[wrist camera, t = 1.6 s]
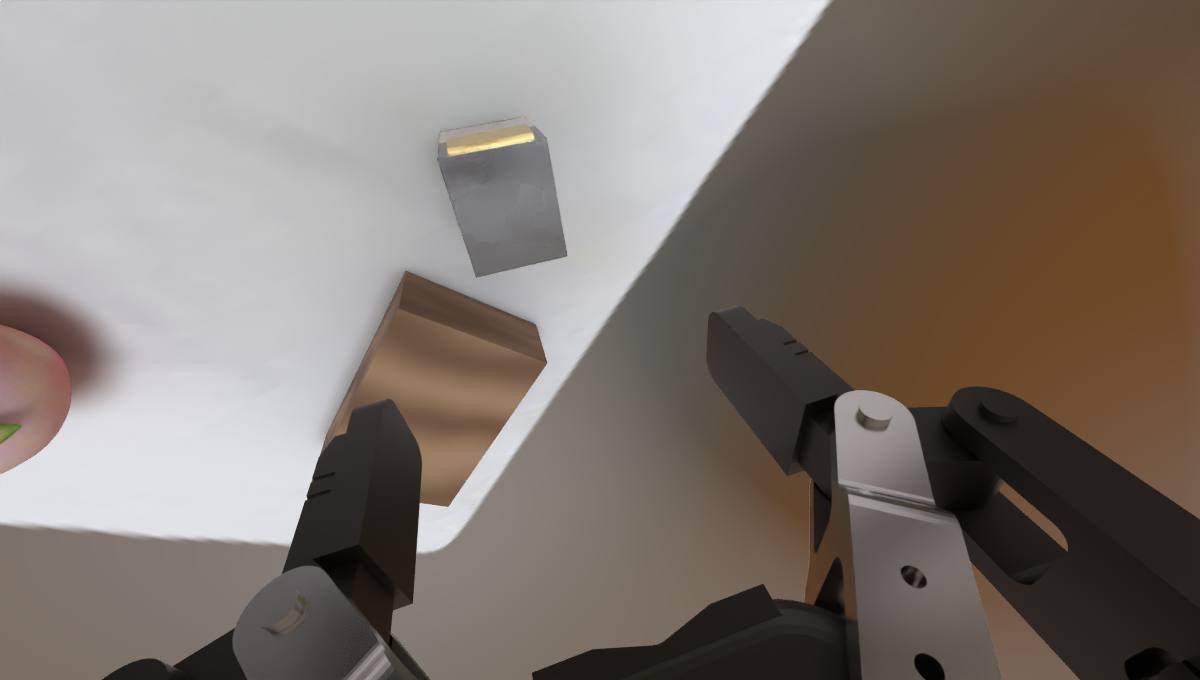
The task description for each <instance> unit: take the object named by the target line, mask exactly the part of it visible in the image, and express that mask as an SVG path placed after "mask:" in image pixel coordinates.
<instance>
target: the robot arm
mask: <svg viewBox="0 0 1200 680" xmlns="http://www.w3.org/2000/svg"><path fill="white" fill-rule="evenodd" d="M707 365H708V369H709V372H710V374H711V376H712V378H713V380H714V381H715V383H716V384H717V385H718V386H719V388H720V389H721V390H722V392H723V393H724V394H725V396H726V397H727V398H728V399H729V401H730V402H731V403H732V405H733V406H734V407H735V409H736V410H737V411H738V412H739V414H740V415H741V416H742V418H743V419H744V420H745V422H746V423H747V424H748V425H749V427H750V428H751V429H752V431H753V432H754V433H755V435H756V436H757V437H758V438H759V440H760V441H761V442H762V444H763V445H764V446H765V447H766V449H767V450H768V451H769V453H770V454H771V455H772V457H773V458H774V459H775V460H776V462H777V463H778V464H779V466H780V467H781V468H782V470H783V471H784V472H785V473H786V475H787V476H789V475H792V474H795V473H798V472H801V471H804V470H805V471H806V472H807V474H808V475H809V476H810V477H811V478H812V479H811V482H810V506H809V508H810V509H809V510H810V512H809V515H810V516H809V522H810V523H809V526H810V527H809V568H808V575H807V580H806V588H805V599H804V603H803V602H799V601H794V600H783V599H772V598H771V597H770V595H769V593H768V591H767V590H766V588H765V586H764V584H761V585H759V586H756V587H753V588H751V589H748V590H746V591H743V592H740V593H738V594H735V595H733V596H730V597H728V598H725V599H723V600H720V601H717V602H715V603H712V604H710V605H709V606H707V607H706V608H705V609H704V610H702V611H701V612H700V613H699V614H697V615H696V616H695V617H694V618H692V619H691V620H690V621H689V622H687V623H686V624H685V625H684V626H682V627H681V628H680V629H679V630H678V631H676V632H675V633H674V634H673V635H671V636H670V637H669V638H668V639H666V640H665V641H664V642H662V643H660V644H658V645H653V646H640V647H639V646H638V647H622V648H607V649H592V650H590V651H587V652H585V653H582V654H580V655H577V656H575V657H572V658H569V659H566V660H564V661H562V662H559V663H556V664H554V665H551V666H548V667H546V668H543V669H541V670H538V671H535V672H533V673H532V677H533V680H1003V679H1002V675H1001V672H1000V668H999V665H998V661H997V658H996V654H995V651H994V646H993V643H992V640H991V636H990V632H989V628H988V625H987V621H986V617H985V614H984V610H983V607H982V603H981V600H980V596H979V592H978V588H977V585H976V581H975V578H974V574H973V570H972V567H971V563H970V561H971V562H972V563H973V564H974V565H975V566H976V568H977V569H978V570H979V571H980V572H981V573H982V574H983V575H984V576H985V577H986V578H987V579H988V580H989V582H990V583H991V584H992V585H993V586H994V587H995V588H996V589H997V590H998V591H999V592H1000V593H1001V595H1002V596H1003V597H1004V598H1005V599H1006V600H1007V601H1008V602H1009V603H1010V604H1011V605H1012V606H1013V608H1014V609H1015V610H1016V611H1017V612H1018V613H1019V614H1020V615H1021V616H1022V617H1023V618H1024V619H1025V621H1026V622H1027V623H1028V624H1029V625H1030V626H1031V627H1032V628H1033V629H1034V630H1035V631H1036V632H1037V634H1038V635H1039V636H1040V637H1041V638H1042V639H1043V640H1044V641H1045V642H1046V643H1047V644H1048V645H1049V647H1050V648H1051V649H1052V650H1053V651H1054V652H1055V653H1056V654H1057V655H1058V656H1059V657H1060V658H1061V660H1062V661H1063V662H1064V663H1065V664H1066V665H1067V666H1068V667H1069V668H1070V669H1071V670H1072V671H1073V673H1074V674H1075V675H1076V676H1077V677H1078V678H1079V679H1080V680H1200V519H1198V518H1197V517H1195V516H1194V515H1192V514H1191V513H1189V512H1188V511H1186V510H1185V509H1183V508H1182V507H1181V506H1179V505H1178V504H1176V503H1175V502H1173V501H1172V500H1170V499H1169V498H1167V497H1166V496H1164V495H1163V494H1161V493H1160V492H1158V491H1157V490H1155V489H1154V488H1152V487H1151V486H1150V485H1148V484H1147V483H1145V482H1144V481H1142V480H1141V479H1139V478H1138V477H1136V476H1135V475H1133V474H1132V473H1130V472H1129V471H1127V470H1126V469H1124V468H1123V467H1121V466H1120V465H1119V464H1117V463H1116V462H1114V461H1113V460H1111V459H1110V458H1108V457H1107V456H1105V455H1104V454H1102V453H1101V452H1099V451H1098V450H1096V449H1095V448H1093V447H1092V446H1091V445H1089V444H1088V443H1086V442H1085V441H1083V440H1082V439H1080V438H1079V437H1077V436H1076V435H1074V434H1073V433H1071V432H1070V431H1068V430H1067V429H1065V428H1064V427H1063V426H1061V425H1059V424H1058V423H1057V422H1055V421H1053V420H1052V419H1051V418H1049V417H1048V416H1046V415H1045V414H1043V413H1042V412H1040V411H1039V410H1037V409H1036V408H1034V407H1033V406H1031V405H1030V404H1029V403H1027V402H1025V401H1024V400H1022V399H1020V398H1018V397H1016V396H1014V395H1012V394H1009V393H1007V392H1004V391H1001V390H997V389H993V388H987V387H967V388H963V389H960V390H958V391H957V392H955V394H954V395H953V396H952V399H951V400H950V402H949V404H948V406H947V407H921V408H920V407H919V408H906V407H905V406H903V405H902V404H901V403H899V402H898V401H896V400H894V399H893V398H891V397H888V396H886V395H883V394H880V393H877V392H872V391H864V390H859V391H858V390H857V391H855V390H854V389H853V388H852V387H851V386H850V385H848V384H847V383H846V382H845V381H843V379H841V378H840V377H839V376H838V375H837V374H836V373H835V372H833V371H832V370H831V369H830V368H829V367H828V366H826V365H825V364H824V363H823V362H822V361H821V360H820V359H818V358H817V357H816V356H815V355H814V354H813V353H812V352H810V353H809V352H808V349H807V348H806V347H805V346H803V345H802V344H801V343H800V342H797V341H796V339H795V338H794V337H793V336H792V335H791V334H790V333H788V332H787V331H786V330H785V329H784V328H783V327H781V326H779V325H776V324H774V323H772V322H770V321H767V320H765V319H760V320H757V319H756V318H755V317H753V316H752V315H751V314H750V313H749V312H748V311H747V310H746V309H745V308H743V307H742V306H739V305H738V306H734V307H731V308H726V309H723V310H719V311H715V312H712V313H711V314H710V315H709V319H708V338H707ZM421 475H422V457H421V452H420V448H419V445H418V443H417V441H416V439H415V437H414V435H413V434H412V432H411V430H410V428H409V427H408V425H407V423H406V421H405V420H404V418H403V416H402V415H401V413H400V411H399V409H398V408H397V406H396V404H395V403H394V402H393V401H392V400H391V399H385V400H381V401H377V402H374V403H370V404H366V405H363V406H359V407H355V408H354V409H353V410H352V412H351V416H350V419H349V423H348V427H347V431H346V433H345V434H341V435H338V436H334V438H333V439H332V440H331V442H330V443H329V444H328V446H327V447H326V448H325V450H324V451H323V452H322V454H321V455H320V456H319V459H318V462H317V465H316V468H315V471H314V474H313V478H312V479H313V482H312V483H311V484H310V487H309V490H308V493H307V500H306V501H305V503H304V506H303V509H302V512H301V515H300V519H299V522H298V525H297V528H296V531H295V534H294V538H293V541H292V544H291V547H290V550H289V553H288V557H287V560H286V563H285V566H284V569H283V572H282V574H281V575H280V576H278V577H276V578H275V579H273V580H272V581H271V582H270V583H268V584H267V585H266V586H265V587H264V588H262V589H261V590H260V591H259V592H258V593H257V594H256V596H255V597H254V598H253V599H252V600H251V601H250V602H249V604H248V605H247V607H246V608H245V610H244V611H243V613H242V614H241V616H240V618H239V620H238V622H237V624H236V627H235V628H234V629H232V630H231V631H229V632H228V633H226V634H225V635H223V636H221V637H220V638H218V639H216V640H215V641H213V642H212V643H210V644H208V645H207V646H205V647H203V648H202V649H200V650H199V651H197V652H195V653H194V654H192V655H190V656H189V657H187V658H185V659H184V660H182V661H181V662H179V663H178V664H176V665H174V666H170V665H168V664H166V663H164V662H161V661H159V660H157V659H141V660H138V661H135V662H132V663H130V664H128V665H125V666H123V667H121V668H120V669H118V670H116V671H114V672H112V673H111V674H109V675H108V676H107V677H105V678H104V679H102V680H430V678H429V677H428V676H427V675H426V673H425V672H424V671H423V670H422V669H421V668H420V666H419V665H418V664H417V662H416V661H415V660H414V659H413V658H412V657H411V655H410V654H409V653H408V651H407V650H406V649H405V648H404V647H403V645H402V644H401V643H400V642H399V641H398V639H397V638H396V637H395V636H394V634H393V633H392V632H391V622H392V613H393V610H395V609H398V608H401V607H404V606H406V605H409V604H412V603H413V593H414V577H415V563H416V549H417V534H418V519H419V504H420V490H421ZM1005 482H1006V483H1007V484H1008V485H1009V486H1010V487H1012V488H1013V489H1014V490H1015V491H1017V492H1018V493H1019V494H1020V495H1021V496H1022V497H1023V498H1025V499H1026V500H1027V501H1028V502H1029V503H1030V504H1031V505H1033V506H1034V507H1035V508H1036V509H1037V510H1039V511H1040V512H1041V513H1042V514H1043V515H1044V516H1046V517H1047V518H1048V519H1049V520H1050V521H1051V522H1052V523H1054V524H1055V525H1056V526H1057V527H1058V528H1059V529H1060V531H1061V532H1062V534H1063V535H1064V537H1065V538H1066V541H1067V544H1068V552H1067V551H1066V550H1065V549H1064V548H1062V547H1061V546H1060V545H1059V544H1058V543H1057V542H1056V541H1055V540H1053V539H1052V538H1051V537H1050V536H1049V535H1048V534H1047V533H1045V532H1044V531H1043V530H1042V529H1041V528H1040V527H1039V526H1037V525H1036V524H1035V523H1034V522H1033V521H1032V520H1031V519H1030V518H1028V516H1026V515H1025V514H1024V513H1023V512H1022V511H1021V510H1020V509H1018V508H1017V507H1016V506H1015V505H1014V504H1013V503H1012V502H1010V501H1009V500H1008V499H1007V498H1006V497H1005V496H1004V495H1003V494H1001V493H1000V492H999V490H1000V489H1001V487H1002V486H1003V485H1004V483H1005Z"/></svg>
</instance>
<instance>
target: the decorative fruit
mask: <svg viewBox="0 0 1200 680" xmlns="http://www.w3.org/2000/svg"><path fill="white" fill-rule="evenodd" d="M70 401H71V380H70V375H69V371H68V369H67V366H66V364H65V363H64V361H63V359H62V358H61V357H60V356H59V355H58V353H57V352H56V351H54V350H53V349H52V348H51V347H50V346H49V345H47V344H46V343H44V342H43V341H41V340H39V339H38V338H36V337H34V336H31V335H29V334H27V333H24V332H22V331H19V330H16V329H13V328H11V327H7V326H4V325H0V474H2V473H4V472H6V471H8V470H10V469H12V468H14V467H16V466H18V465H19V464H21V463H23V462H24V461H26V460H28V459H29V458H31V457H33V456H34V455H36V454H37V453H38V452H40V451H41V450H42V449H43V448H44V447H46V446H47V445H48V444H49V443H50V441H51V440H52V439H53V438H54V437H55V436H56V434H57V433H58V432H59V430H60V428H61V427H62V425H63V423H64V421H65V419H66V417H67V414H68V411H69V407H70Z"/></svg>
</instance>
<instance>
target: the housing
mask: <svg viewBox="0 0 1200 680" xmlns="http://www.w3.org/2000/svg"><path fill="white" fill-rule="evenodd" d="M437 160H438V163H439V166H440V169H441V172H442V175H443V178H444V181H445V184H446V187H447V190H448V193H449V196H450V199H451V202H452V205H453V208H454V211H455V214H456V217H457V221H458V224H459V227H460V230H461V233H462V236H463V239H464V242H465V245H466V248H467V251H468V254H469V257H470V260H471V263H472V266H473V269H474V272H475V275H476V277H480V276H485V275H489V274H493V273H497V272H502V271H506V270H510V269H515V268H519V267H523V266H527V265H532V264H536V263H540V262H545V261H549V260H553V259H557V258H562V257H566V256H567V251H566V245H565V240H564V234H563V228H562V223H561V217H560V211H559V206H558V200H557V195H556V189H555V183H554V178H553V172H552V166H551V161H550V155H549V149H548V144H547V138H546V137H545V136H544V135H543V134H542V133H541V132H540V131H539V130H538V129H537V128H536V127H535V126H534V125H533V124H532V123H531V122H530V120H529V119H528V118H527V117H521V118H516V119H510V120H504V121H499V122H493V123H488V124H482V125H476V126H471V127H465V128H460V129H454V130H448V131H443V132H440V139H439V147H438V156H437Z"/></svg>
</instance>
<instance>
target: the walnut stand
mask: <svg viewBox="0 0 1200 680" xmlns="http://www.w3.org/2000/svg"><path fill="white" fill-rule="evenodd" d="M546 364H547V360H546V357H545V354H544V350H543V347H542V343H541V340H540V337H539V333H538V330H537V327H536V325H535V324H532V323H530V322H528V321H525V320H523V319H520V318H518V317H516V316H513V315H511V314H508V313H506V312H503V311H501V310H499V309H496V308H494V307H491V306H489V305H486V304H484V303H482V302H479V301H477V300H474V299H472V298H470V297H467V296H465V295H462V294H460V293H457V292H455V291H453V290H450V289H448V288H445V287H443V286H441V285H438V284H436V283H433V282H431V281H428V280H426V279H424V278H421V277H419V276H416V275H414V274H411V273H409V272H407V271H406V272H405V274H404V276H403V278H402V280H401V283H400V285H399V287H398V289H397V291H396V293H395V295H394V297H393V299H392V301H391V303H390V305H389V307H388V309H387V311H386V313H385V316H384V318H383V320H382V322H381V324H380V326H379V328H378V330H377V332H376V334H375V336H374V338H373V340H372V342H371V344H370V346H369V349H368V351H367V353H366V355H365V357H364V359H363V361H362V363H361V365H360V367H359V369H358V371H357V373H356V375H355V377H354V379H353V381H352V384H351V386H350V388H349V390H348V392H347V394H346V396H345V398H344V400H343V402H342V404H341V406H340V408H339V410H338V412H337V414H336V417H335V419H334V421H333V423H332V425H331V427H330V429H329V431H328V433H327V435H326V438H325V441H324V445H323V448H322V451H321V454H322V452H323V451H324V450H325V448H326V447H327V446H328V444H329V443H330V442H331V440H332V439H333V438H334V436H338V435H341V434H345V433H346V431H347V427H348V423H349V419H350V416H351V412H352V410H353V409H354V408H355V407H359V406H363V405H366V404H370V403H374V402H377V401H381V400H385V399H391V400H392V401H393V402H394V403H395V404H396V406H397V408H398V409H399V411H400V413H401V415H402V416H403V418H404V420H405V421H406V423H407V425H408V427H409V428H410V430H411V432H412V434H413V435H414V437H415V439H416V441H417V443H418V445H419V448H420V452H421V457H422V475H421V490H420V503H425V504H432V505H439V506H446V507H448V506H449V505H450V504H451V502H452V501H453V499H454V498H455V496H456V495H457V493H458V492H459V490H460V489H461V488H462V486H463V485H464V483H465V482H466V480H467V479H468V477H469V476H470V475H471V473H472V472H473V470H474V469H475V467H476V466H477V464H478V463H479V461H480V460H481V459H482V457H483V456H484V454H485V453H486V451H487V450H488V448H489V447H490V445H491V444H492V443H493V441H494V440H495V438H496V437H497V435H498V434H499V432H500V431H501V430H502V428H503V427H504V425H505V424H506V422H507V421H508V419H509V418H510V416H511V415H512V414H513V412H514V411H515V409H516V408H517V406H518V405H519V403H520V402H521V400H522V399H523V398H524V396H525V395H526V393H527V392H528V390H529V389H530V387H531V386H532V385H533V383H534V382H535V380H536V379H537V377H538V376H539V374H540V373H541V371H542V370H543V369H544V367H545V366H546ZM321 454H320V455H321ZM312 482H313V479H312ZM312 482H311V483H312Z"/></svg>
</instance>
